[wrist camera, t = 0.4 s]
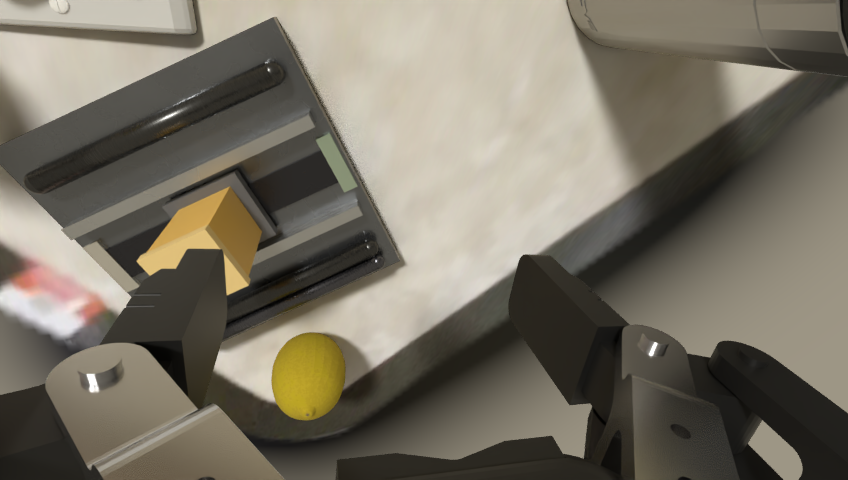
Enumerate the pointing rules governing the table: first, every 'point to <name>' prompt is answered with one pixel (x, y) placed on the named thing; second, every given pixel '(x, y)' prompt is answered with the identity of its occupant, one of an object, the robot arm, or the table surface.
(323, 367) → the lemon
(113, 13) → the light switch
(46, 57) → the table surface
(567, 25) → the table surface
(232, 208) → the lever
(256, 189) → the panel
